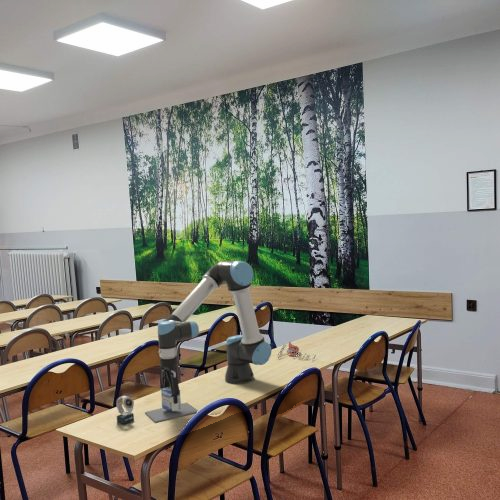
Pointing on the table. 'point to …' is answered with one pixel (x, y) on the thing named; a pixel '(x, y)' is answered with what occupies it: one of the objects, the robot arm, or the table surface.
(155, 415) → the mat
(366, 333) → the table surface
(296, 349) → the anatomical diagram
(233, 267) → the robot arm
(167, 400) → the medicine box
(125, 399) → the watch
